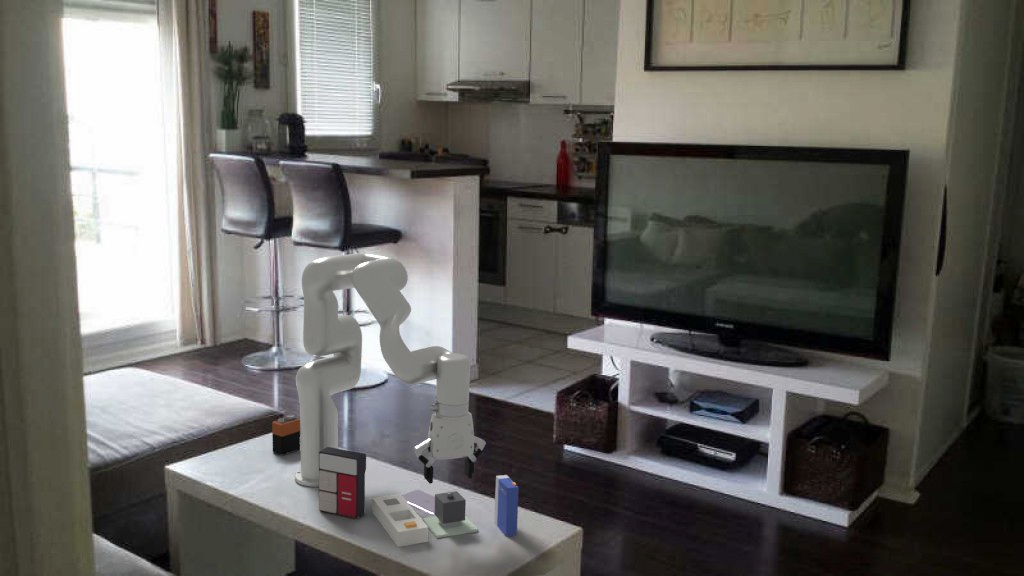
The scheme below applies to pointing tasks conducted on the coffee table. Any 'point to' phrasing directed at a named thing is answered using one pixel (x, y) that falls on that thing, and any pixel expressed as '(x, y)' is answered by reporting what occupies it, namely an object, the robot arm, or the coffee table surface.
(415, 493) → the mobile phone
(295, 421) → the battery
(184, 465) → the coffee table surface
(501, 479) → the walkman
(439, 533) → the mat
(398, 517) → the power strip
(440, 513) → the grey knobbed block
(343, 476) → the red grey panelled box
